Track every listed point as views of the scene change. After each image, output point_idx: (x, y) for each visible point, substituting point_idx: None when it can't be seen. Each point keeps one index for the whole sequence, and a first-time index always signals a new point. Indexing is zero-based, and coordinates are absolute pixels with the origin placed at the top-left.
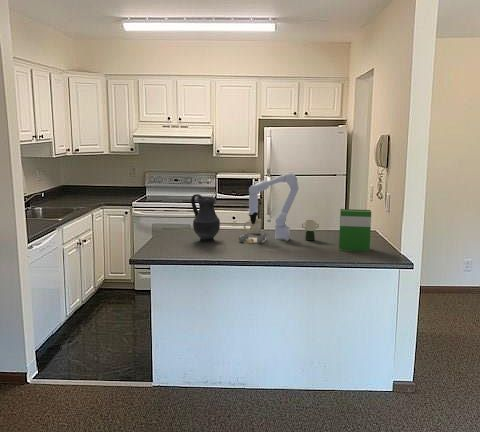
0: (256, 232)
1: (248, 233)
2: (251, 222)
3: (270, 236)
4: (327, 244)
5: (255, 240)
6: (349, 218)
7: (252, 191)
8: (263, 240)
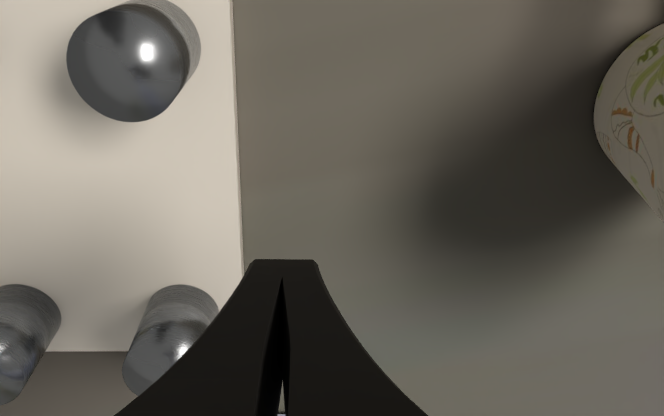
0: (609, 147)
1: (115, 118)
2: (245, 278)
3: (474, 343)
4: None
5: (47, 234)
6: None
7: None
8: (103, 336)
